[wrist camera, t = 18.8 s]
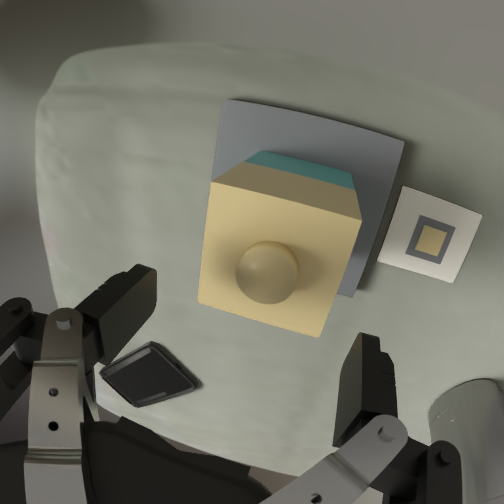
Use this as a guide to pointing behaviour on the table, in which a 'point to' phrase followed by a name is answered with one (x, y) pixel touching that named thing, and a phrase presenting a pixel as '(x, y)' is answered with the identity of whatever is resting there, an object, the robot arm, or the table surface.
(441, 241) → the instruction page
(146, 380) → the phone
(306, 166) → the teal brick
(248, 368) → the table surface
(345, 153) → the plate
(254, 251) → the yellow knobbed block
